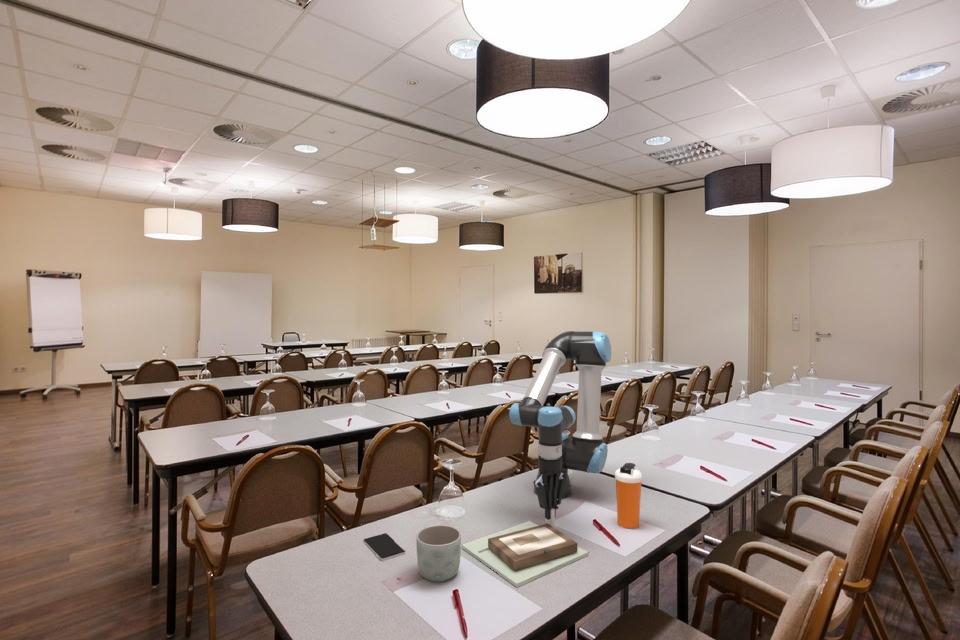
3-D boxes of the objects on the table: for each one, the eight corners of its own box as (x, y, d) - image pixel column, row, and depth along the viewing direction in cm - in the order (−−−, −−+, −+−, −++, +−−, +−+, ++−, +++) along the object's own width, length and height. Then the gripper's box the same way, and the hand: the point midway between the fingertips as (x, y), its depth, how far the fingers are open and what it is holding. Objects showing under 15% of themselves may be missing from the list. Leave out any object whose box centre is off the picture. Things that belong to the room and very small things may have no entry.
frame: (488, 546, 146) (488, 536, 145) (547, 530, 156) (547, 521, 156) (516, 572, 132) (516, 561, 131) (579, 552, 142) (579, 542, 142)
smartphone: (386, 532, 157) (406, 551, 145) (386, 536, 157) (406, 555, 145) (362, 539, 152) (381, 558, 140) (362, 543, 152) (381, 563, 140)
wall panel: (461, 548, 148) (461, 544, 148) (529, 523, 164) (529, 520, 164) (516, 587, 127) (516, 583, 127) (588, 555, 143) (588, 551, 143)
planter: (443, 591, 125) (443, 550, 125) (407, 577, 132) (406, 538, 132) (469, 569, 136) (469, 531, 135) (434, 557, 142) (434, 521, 142)
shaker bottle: (643, 521, 166) (643, 463, 166) (640, 532, 158) (640, 471, 158) (616, 516, 170) (617, 460, 170) (612, 526, 162) (612, 467, 162)
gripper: (543, 463, 148) (544, 538, 149) (572, 455, 155) (572, 526, 156) (527, 457, 154) (527, 529, 155) (556, 449, 161) (556, 518, 162)
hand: (550, 527), depth 156 cm, fingers closed
